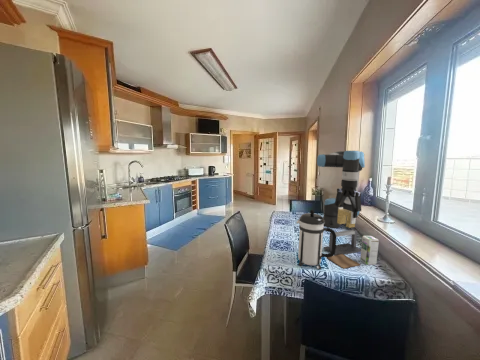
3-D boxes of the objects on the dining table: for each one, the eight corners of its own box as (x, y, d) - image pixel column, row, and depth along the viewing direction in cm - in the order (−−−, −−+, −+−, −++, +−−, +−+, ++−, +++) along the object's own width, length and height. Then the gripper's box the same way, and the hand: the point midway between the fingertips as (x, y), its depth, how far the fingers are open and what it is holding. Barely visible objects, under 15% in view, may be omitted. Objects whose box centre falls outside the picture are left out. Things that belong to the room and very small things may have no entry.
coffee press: (309, 274, 101) (313, 215, 98) (289, 259, 116) (292, 207, 112) (335, 267, 108) (339, 212, 105) (313, 253, 123) (316, 205, 119)
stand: (348, 244, 136) (349, 227, 135) (361, 251, 127) (363, 233, 125) (323, 248, 130) (325, 230, 128) (336, 256, 120) (337, 236, 119)
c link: (342, 222, 116) (343, 208, 115) (354, 227, 109) (355, 212, 108) (337, 223, 115) (338, 209, 114) (349, 227, 108) (350, 213, 107)
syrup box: (359, 259, 117) (361, 235, 115) (369, 259, 117) (371, 235, 115) (366, 265, 111) (369, 239, 109) (376, 264, 111) (379, 239, 110)
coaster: (342, 255, 122) (342, 254, 122) (360, 265, 111) (360, 264, 111) (326, 258, 118) (326, 257, 118) (343, 268, 107) (343, 267, 107)
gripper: (329, 177, 118) (326, 216, 120) (361, 182, 98) (357, 228, 101) (339, 177, 120) (336, 215, 123) (372, 181, 100) (368, 226, 103)
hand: (346, 220), depth 112 cm, fingers closed on c link, 8 cm apart
